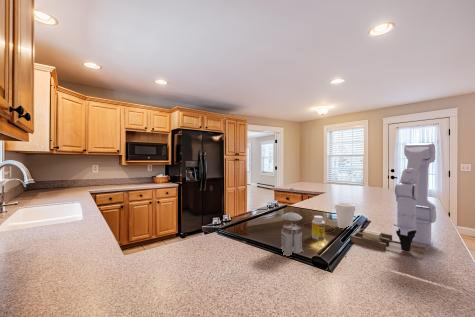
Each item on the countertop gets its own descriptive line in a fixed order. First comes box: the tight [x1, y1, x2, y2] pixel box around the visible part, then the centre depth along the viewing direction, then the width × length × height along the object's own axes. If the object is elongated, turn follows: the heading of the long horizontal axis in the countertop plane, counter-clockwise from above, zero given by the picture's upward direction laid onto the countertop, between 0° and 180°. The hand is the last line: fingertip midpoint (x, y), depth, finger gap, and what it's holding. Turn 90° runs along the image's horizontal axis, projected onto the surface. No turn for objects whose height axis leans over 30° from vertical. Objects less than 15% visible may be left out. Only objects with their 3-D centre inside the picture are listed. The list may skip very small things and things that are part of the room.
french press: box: [280, 187, 303, 257], centre depth 83 cm, size 10×12×25 cm
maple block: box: [363, 228, 413, 252], centre depth 88 cm, size 4×16×5 cm, turn 46°
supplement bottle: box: [311, 215, 326, 241], centre depth 98 cm, size 6×6×10 cm
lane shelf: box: [349, 227, 426, 261], centre depth 90 cm, size 15×24×3 cm, turn 46°
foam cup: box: [334, 202, 356, 229], centre depth 113 cm, size 10×9×13 cm
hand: (406, 249), depth 83 cm, fingers closed on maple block, 3 cm apart
